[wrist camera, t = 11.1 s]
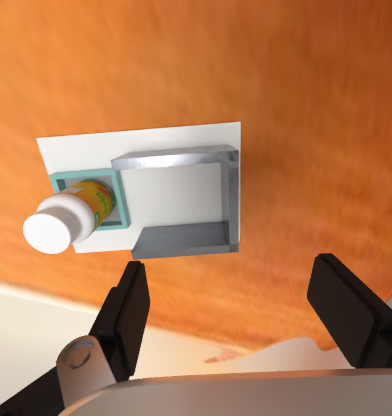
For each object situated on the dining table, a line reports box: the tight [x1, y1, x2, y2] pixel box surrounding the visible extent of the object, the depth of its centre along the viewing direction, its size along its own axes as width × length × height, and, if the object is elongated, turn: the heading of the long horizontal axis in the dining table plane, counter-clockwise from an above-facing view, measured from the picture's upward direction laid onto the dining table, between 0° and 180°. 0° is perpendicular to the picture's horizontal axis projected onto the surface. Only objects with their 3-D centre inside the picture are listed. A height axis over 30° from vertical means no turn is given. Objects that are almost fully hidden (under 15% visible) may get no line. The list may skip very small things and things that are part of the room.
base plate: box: [36, 122, 241, 253], centre depth 27 cm, size 24×16×3 cm, turn 94°
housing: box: [111, 144, 239, 260], centre depth 24 cm, size 12×11×6 cm
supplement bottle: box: [23, 179, 116, 254], centre depth 22 cm, size 5×5×10 cm
